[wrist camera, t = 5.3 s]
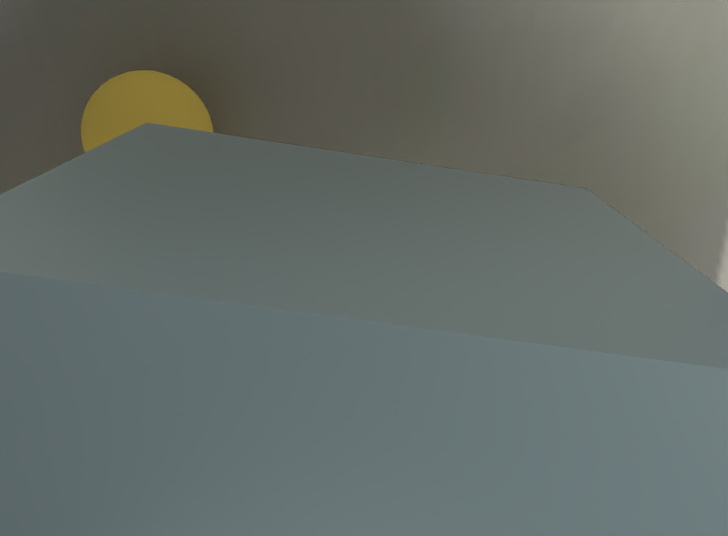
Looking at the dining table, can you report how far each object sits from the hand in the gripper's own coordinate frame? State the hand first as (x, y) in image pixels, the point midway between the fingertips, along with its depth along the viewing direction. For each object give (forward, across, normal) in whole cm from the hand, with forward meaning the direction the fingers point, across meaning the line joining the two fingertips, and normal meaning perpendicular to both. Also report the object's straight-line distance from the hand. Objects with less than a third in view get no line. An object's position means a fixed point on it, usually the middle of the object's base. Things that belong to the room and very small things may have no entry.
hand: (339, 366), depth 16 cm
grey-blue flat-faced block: (+1, 0, 0) cm, 1 cm away
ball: (+12, -8, +2) cm, 15 cm away
